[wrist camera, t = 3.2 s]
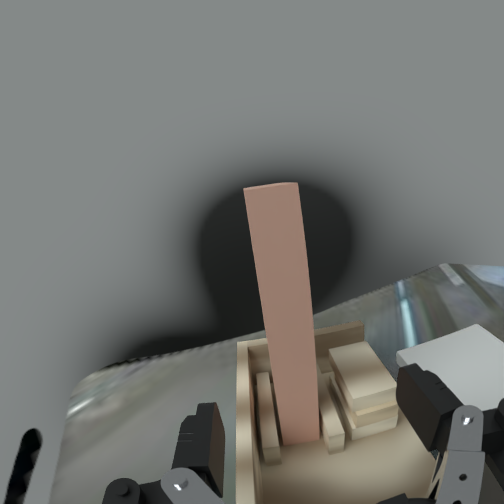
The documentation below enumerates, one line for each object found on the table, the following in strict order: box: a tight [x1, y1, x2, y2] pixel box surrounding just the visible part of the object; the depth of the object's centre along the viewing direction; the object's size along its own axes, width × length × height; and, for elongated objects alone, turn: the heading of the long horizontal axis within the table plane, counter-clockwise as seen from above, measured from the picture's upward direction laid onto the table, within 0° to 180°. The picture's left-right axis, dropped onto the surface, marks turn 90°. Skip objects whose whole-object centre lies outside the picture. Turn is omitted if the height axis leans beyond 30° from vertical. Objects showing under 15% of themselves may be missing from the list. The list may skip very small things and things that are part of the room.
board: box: [244, 183, 320, 446], centre depth 22 cm, size 6×3×20 cm, turn 2°
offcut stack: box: [329, 341, 399, 440], centre depth 24 cm, size 8×4×4 cm, turn 2°
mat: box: [396, 324, 504, 411], centre depth 24 cm, size 14×13×2 cm
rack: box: [236, 320, 436, 504], centre depth 21 cm, size 20×14×6 cm
